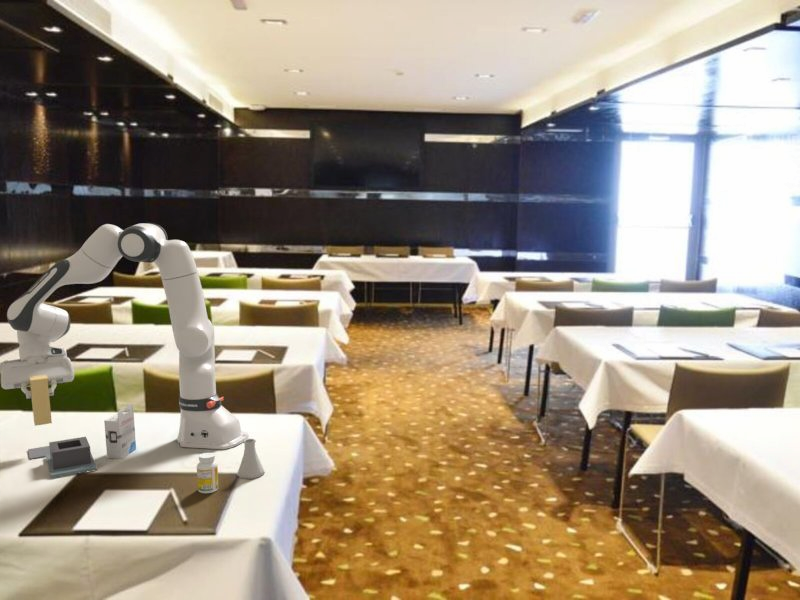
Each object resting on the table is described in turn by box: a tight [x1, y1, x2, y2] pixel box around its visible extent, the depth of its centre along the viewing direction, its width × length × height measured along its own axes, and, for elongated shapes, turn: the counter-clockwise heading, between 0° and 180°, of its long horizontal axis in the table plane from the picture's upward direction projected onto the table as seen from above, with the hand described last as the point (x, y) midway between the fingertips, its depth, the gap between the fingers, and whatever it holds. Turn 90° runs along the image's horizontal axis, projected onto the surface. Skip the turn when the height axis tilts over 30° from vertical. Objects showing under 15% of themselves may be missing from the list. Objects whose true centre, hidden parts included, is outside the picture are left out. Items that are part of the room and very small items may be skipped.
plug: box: [30, 375, 53, 427], centre depth 227 cm, size 5×5×14 cm
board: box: [45, 453, 98, 479], centre depth 220 cm, size 18×12×1 cm, turn 29°
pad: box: [27, 445, 50, 460], centre depth 230 cm, size 9×9×1 cm
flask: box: [236, 438, 266, 480], centre depth 210 cm, size 7×7×10 cm
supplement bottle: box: [196, 452, 219, 494], centre depth 200 cm, size 5×5×10 cm
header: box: [48, 436, 92, 470], centre depth 219 cm, size 10×10×5 cm
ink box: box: [104, 403, 137, 460], centre depth 227 cm, size 9×5×15 cm, turn 168°
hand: (40, 396), depth 226 cm, fingers closed on plug, 5 cm apart
